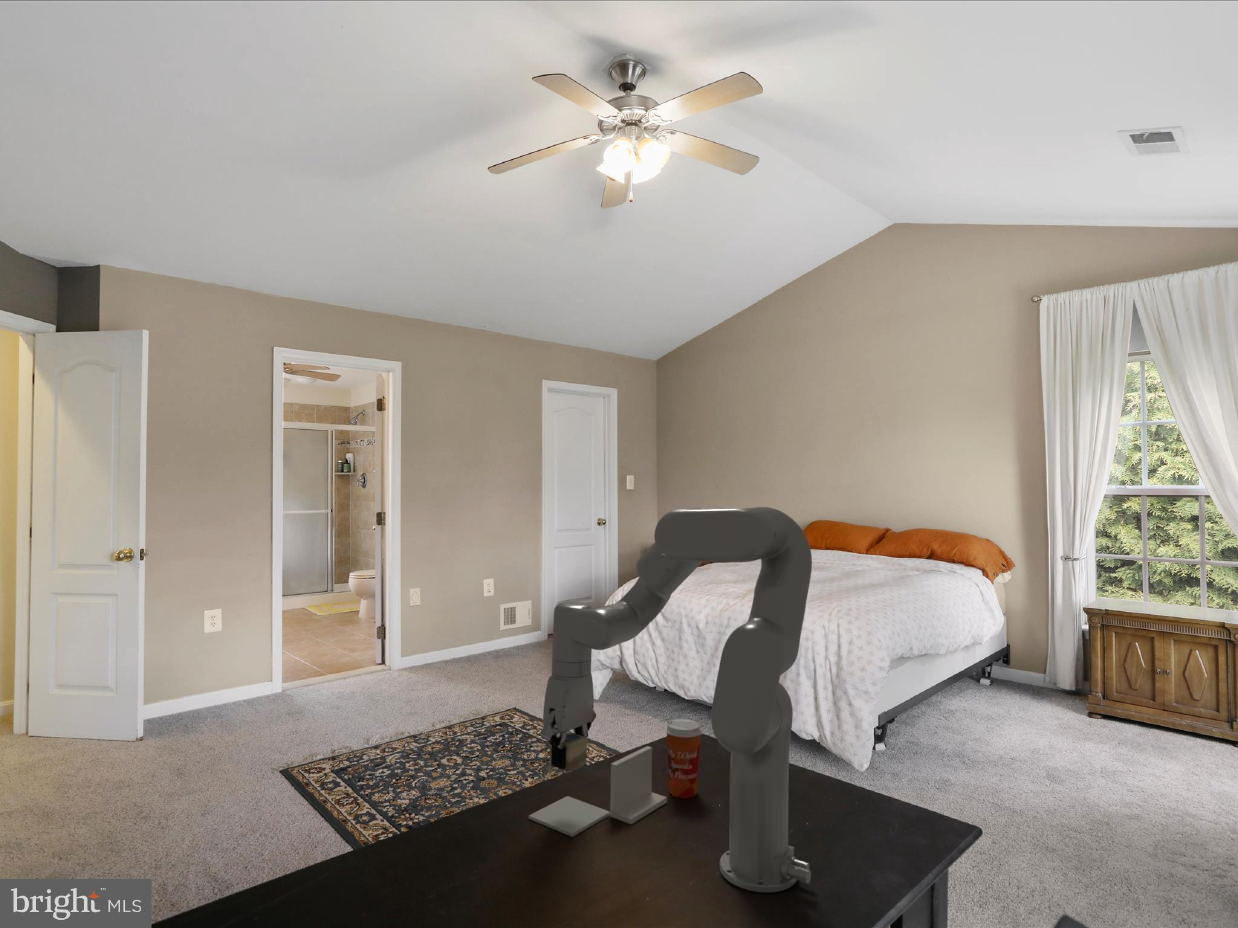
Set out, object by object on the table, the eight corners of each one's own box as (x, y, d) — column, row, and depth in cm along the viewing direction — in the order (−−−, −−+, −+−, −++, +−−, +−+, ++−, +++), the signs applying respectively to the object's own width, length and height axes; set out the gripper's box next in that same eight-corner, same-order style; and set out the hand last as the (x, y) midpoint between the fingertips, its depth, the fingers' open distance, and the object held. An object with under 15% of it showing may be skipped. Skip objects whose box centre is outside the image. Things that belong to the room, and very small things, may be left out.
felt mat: (610, 814, 137) (610, 811, 137) (572, 836, 128) (572, 833, 128) (567, 798, 144) (567, 795, 144) (528, 818, 135) (528, 815, 135)
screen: (666, 802, 143) (667, 751, 143) (631, 824, 133) (631, 770, 134) (646, 795, 146) (647, 745, 146) (610, 816, 136) (610, 763, 137)
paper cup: (660, 797, 145) (661, 728, 145) (669, 782, 152) (669, 716, 153) (698, 802, 143) (699, 732, 143) (705, 787, 150) (706, 720, 150)
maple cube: (586, 763, 137) (587, 736, 137) (568, 771, 133) (569, 743, 133) (566, 756, 140) (567, 730, 140) (549, 764, 136) (550, 737, 136)
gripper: (585, 655, 146) (582, 745, 146) (526, 672, 133) (522, 770, 132) (614, 662, 141) (611, 754, 141) (555, 680, 128) (552, 782, 128)
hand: (568, 761), depth 137 cm, fingers closed on maple cube, 5 cm apart
